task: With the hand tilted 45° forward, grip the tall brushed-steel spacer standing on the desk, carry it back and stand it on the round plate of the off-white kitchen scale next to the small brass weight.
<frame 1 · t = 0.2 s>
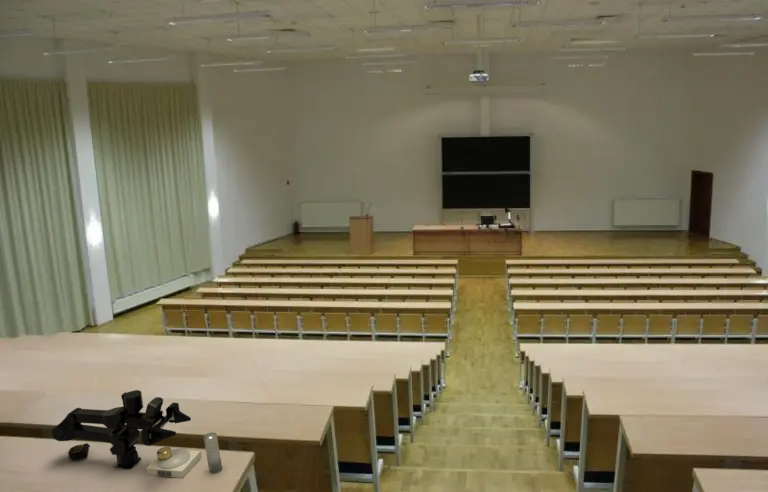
hand: (183, 426, 204), 17 cm above the table, tool horizontal, fingers open, 9 cm apart
tape measure: (81, 456, 221), on the table
scale: (175, 465, 210), on the table
brass weight: (165, 456, 210), point 3 cm above the table, touching scale
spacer: (215, 469, 206), on the table
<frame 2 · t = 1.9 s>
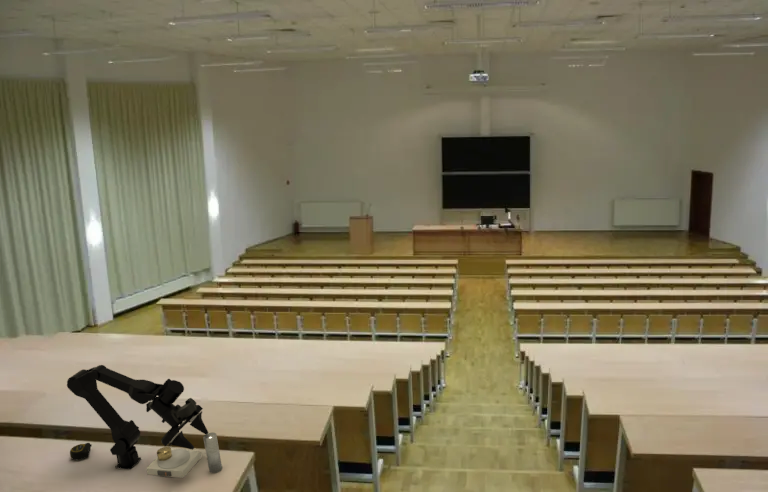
hand: (200, 440, 205), 11 cm above the table, tool tilted 45°, fingers open, 9 cm apart
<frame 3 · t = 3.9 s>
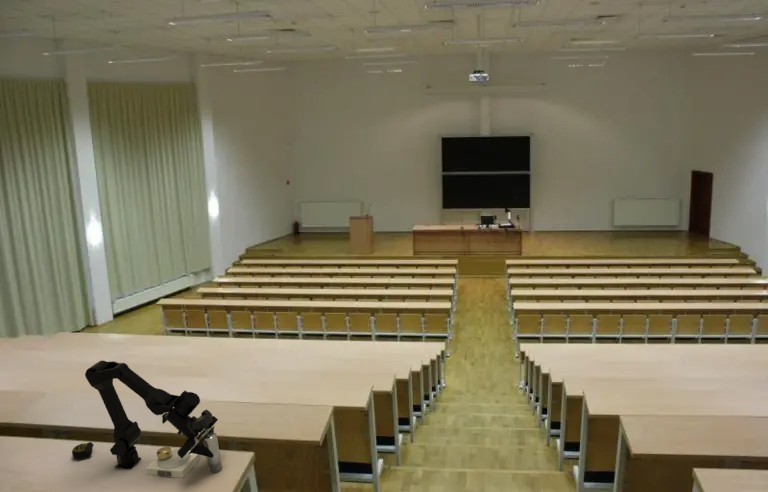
hand: (216, 452, 204), 7 cm above the table, tool tilted 45°, fingers closed on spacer, 4 cm apart
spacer: (215, 469, 206), on the table, touching gripper
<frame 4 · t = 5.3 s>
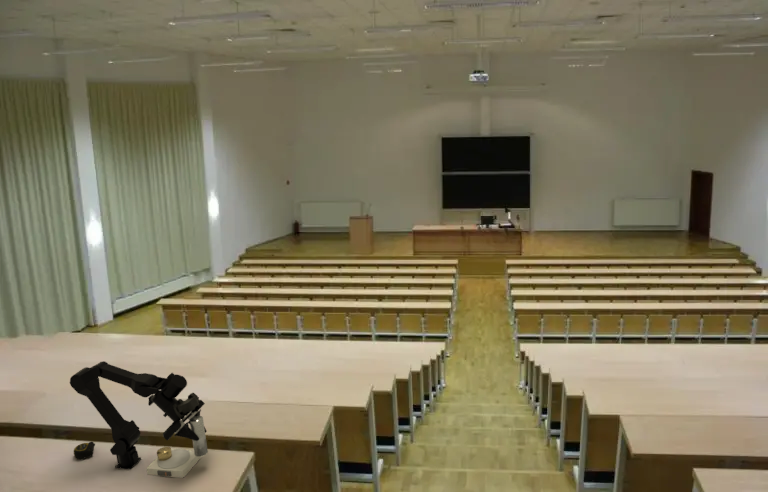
hand: (202, 436, 204), 13 cm above the table, tool tilted 45°, fingers closed on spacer, 4 cm apart
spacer: (201, 452, 206), point 6 cm above the table, touching gripper
when the fingers open (11 cm above the table, at t = 6.9 s): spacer stays where it is, resting on scale.
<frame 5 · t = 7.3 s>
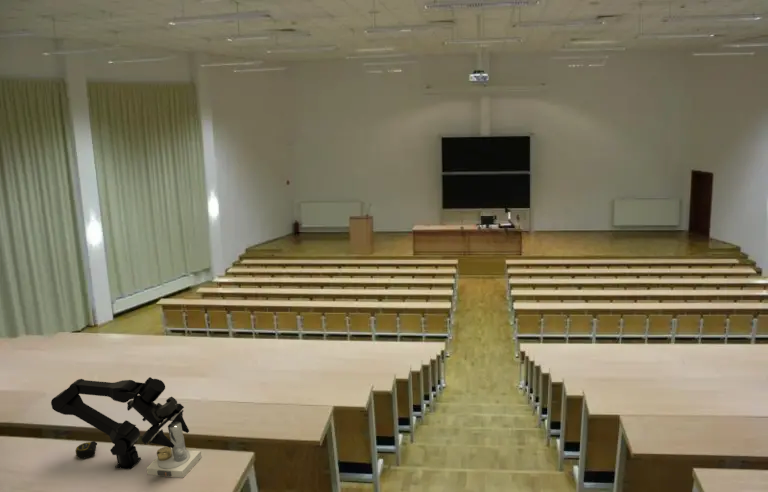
hand: (181, 439, 207), 11 cm above the table, tool tilted 45°, fingers open, 9 cm apart
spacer: (180, 458, 209), point 3 cm above the table, touching scale
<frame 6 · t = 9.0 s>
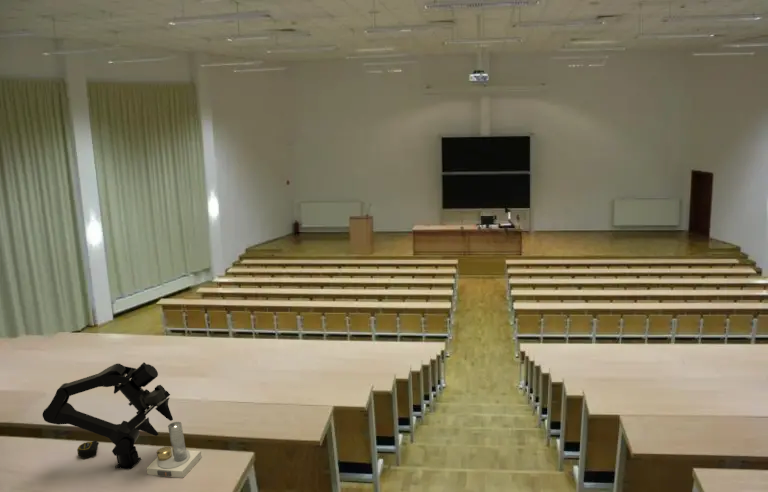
hand: (164, 427, 209), 14 cm above the table, tool tilted 35°, fingers open, 9 cm apart
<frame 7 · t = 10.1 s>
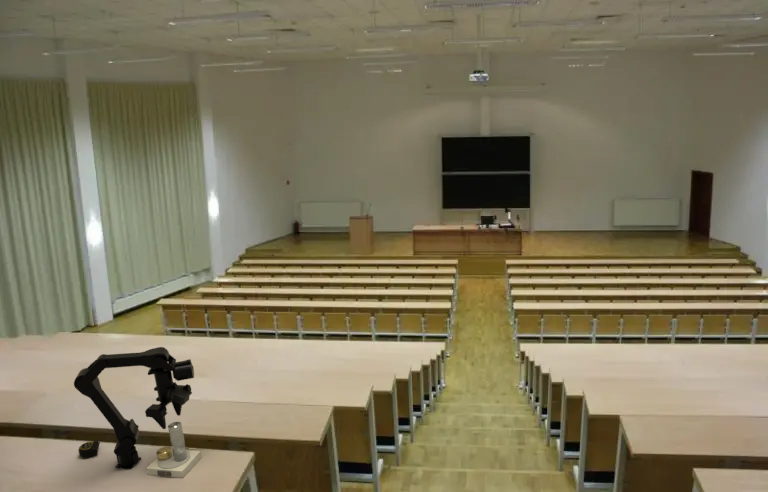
hand: (171, 421, 214), 13 cm above the table, tool pointing down, fingers open, 9 cm apart
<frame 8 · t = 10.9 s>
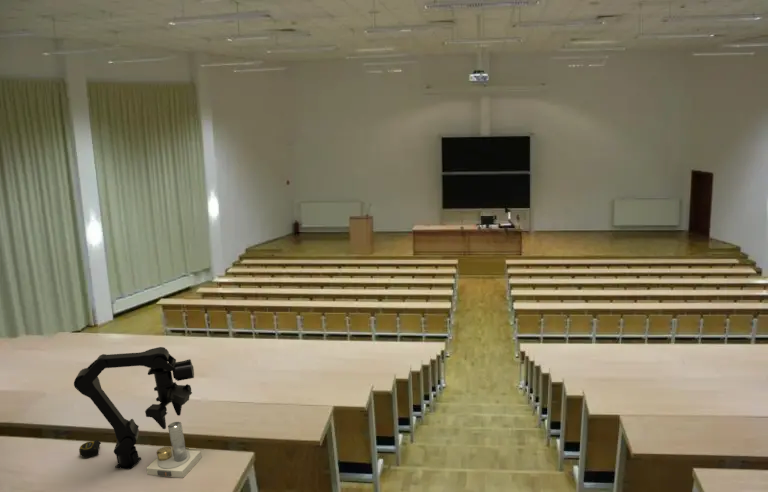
hand: (171, 421, 214), 13 cm above the table, tool pointing down, fingers open, 9 cm apart
at the end: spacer inside the target area on the scale (2.8 cm from its centre), point 3.3 cm above the scale's base; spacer tilted 0°; the gripper is holding nothing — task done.
